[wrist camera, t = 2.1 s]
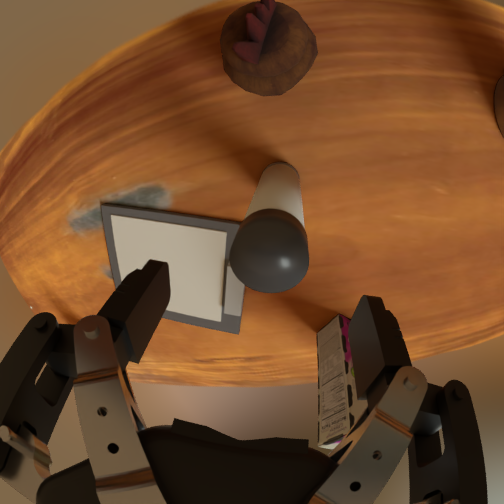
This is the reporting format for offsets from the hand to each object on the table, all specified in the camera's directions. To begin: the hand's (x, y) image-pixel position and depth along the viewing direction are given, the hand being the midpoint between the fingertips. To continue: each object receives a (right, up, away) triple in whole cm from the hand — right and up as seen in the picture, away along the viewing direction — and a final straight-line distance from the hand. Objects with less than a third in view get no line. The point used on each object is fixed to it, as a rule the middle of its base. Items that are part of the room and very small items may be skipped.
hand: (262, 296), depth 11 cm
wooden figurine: (+2, +18, +8) cm, 20 cm away
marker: (+2, +8, +14) cm, 17 cm away
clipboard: (-10, -1, +21) cm, 24 cm away
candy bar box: (+14, -10, +23) cm, 29 cm away
